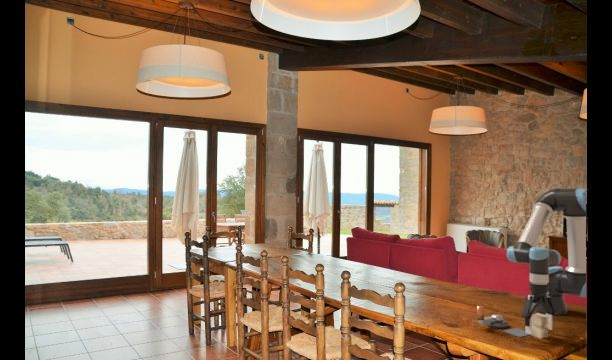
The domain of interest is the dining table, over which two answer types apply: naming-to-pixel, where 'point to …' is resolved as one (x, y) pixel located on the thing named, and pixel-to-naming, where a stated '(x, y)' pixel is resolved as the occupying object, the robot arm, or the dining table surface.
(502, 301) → the dining table surface
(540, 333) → the block
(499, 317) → the crank
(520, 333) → the pad
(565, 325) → the dining table surface
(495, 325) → the crank base
